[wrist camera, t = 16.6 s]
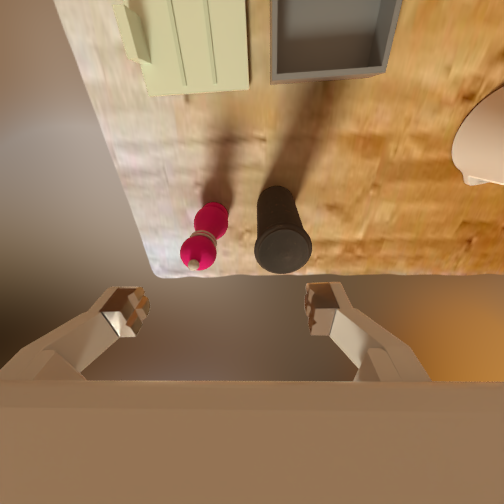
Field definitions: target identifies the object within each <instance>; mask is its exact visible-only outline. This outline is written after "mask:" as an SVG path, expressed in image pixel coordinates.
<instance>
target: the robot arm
mask: <svg viewBox="0 0 504 504" xmlns="http://www.w3.org/2000/svg"><path fill="white" fill-rule="evenodd" d="M452 159H453V162H454V164H455V166H456V167H457V168H458V169H459V170H460V171H461V172H462V173H463V177H464V182H465V184H467V185H478V184H483V183H488V182H493V183H497V184H501V185H504V86H503V87H502V88H500V89H498V90H497V91H495V92H494V93H492V94H491V95H489V96H488V97H487V98H485V99H484V100H483V101H482V102H481V103H479V104H478V105H477V106H476V107H475V108H474V109H473V110H472V112H471V113H470V114H469V115H468V116H467V118H466V119H465V120H464V122H463V123H462V125H461V126H460V128H459V130H458V132H457V134H456V136H455V139H454V142H453V146H452ZM306 292H307V294H306V295H305V299H304V306H305V312H306V315H307V316H308V317H309V319H308V325H309V329H310V333H311V335H330V337H331V338H332V340H333V341H334V342H335V343H336V344H337V345H338V346H339V347H340V348H341V350H342V351H343V352H344V353H345V354H346V355H347V356H348V357H349V358H350V359H351V361H352V362H353V363H354V364H355V365H356V366H357V367H358V368H359V370H358V372H357V374H356V376H355V378H354V381H352V382H351V381H336V382H335V381H86V379H85V378H84V377H83V376H82V375H81V374H80V372H81V371H82V370H83V369H85V368H86V367H87V366H88V365H89V364H90V363H91V362H92V361H93V360H95V359H96V358H97V357H98V356H99V355H100V354H101V353H103V352H104V351H105V350H106V349H107V348H108V347H109V346H111V345H112V344H113V343H114V342H115V341H116V340H117V339H118V338H119V337H135V336H137V334H138V332H139V330H140V328H141V327H142V320H143V319H145V318H146V317H147V315H148V314H149V311H150V301H149V299H148V298H147V297H145V296H144V293H145V291H144V289H143V288H142V287H110V288H108V289H107V290H106V291H105V292H104V293H103V294H102V296H101V297H100V298H99V299H98V300H97V301H96V302H95V304H94V305H93V306H92V307H91V308H90V310H88V312H87V313H82V314H80V315H79V316H77V317H75V318H74V319H72V320H70V321H69V322H67V323H65V324H63V325H62V326H60V327H58V328H56V329H55V330H53V331H51V332H50V333H48V334H46V335H44V336H43V337H41V338H39V339H38V340H36V341H34V342H32V343H31V344H29V345H27V346H26V347H24V348H22V349H21V350H20V351H19V352H18V353H17V354H16V355H15V356H14V357H13V358H12V359H11V360H10V361H9V362H8V363H7V364H6V365H5V366H4V367H3V368H2V369H1V370H0V504H504V382H432V381H431V379H430V378H429V376H428V374H427V373H426V371H425V370H424V368H423V367H422V365H421V363H420V362H419V360H418V359H417V357H416V356H415V354H414V353H413V351H412V349H411V348H410V347H409V346H408V345H406V344H405V343H403V342H402V341H401V340H399V339H398V338H397V337H395V336H394V335H392V334H391V333H390V332H388V331H387V330H385V329H384V328H383V327H381V326H380V325H378V324H377V323H376V322H374V321H373V320H372V319H370V318H369V317H367V316H366V315H365V314H363V313H362V312H361V311H359V310H358V309H353V307H352V305H351V303H350V301H349V299H348V297H347V295H346V293H345V291H344V289H343V287H342V285H341V283H340V282H326V283H307V285H306Z"/></svg>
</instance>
